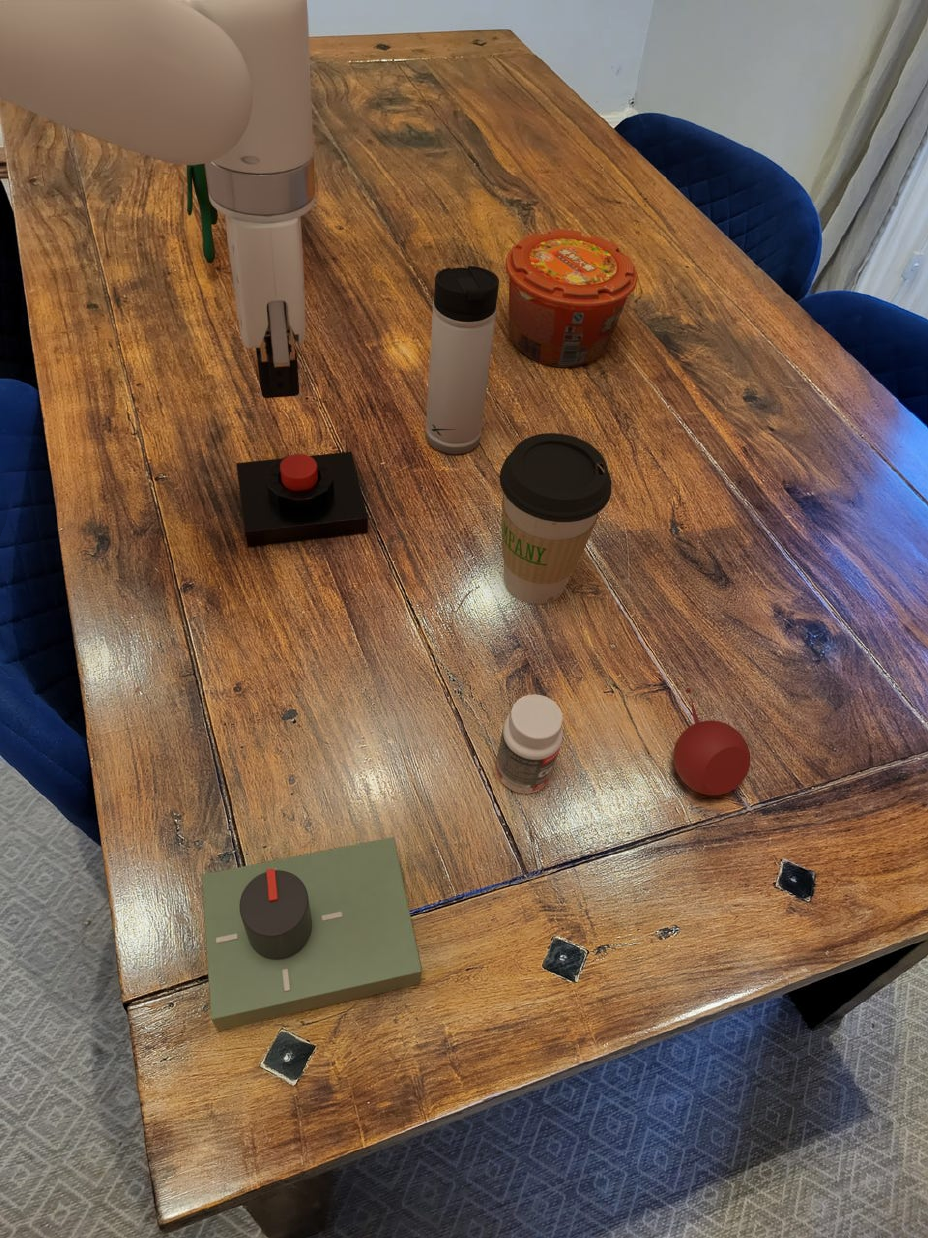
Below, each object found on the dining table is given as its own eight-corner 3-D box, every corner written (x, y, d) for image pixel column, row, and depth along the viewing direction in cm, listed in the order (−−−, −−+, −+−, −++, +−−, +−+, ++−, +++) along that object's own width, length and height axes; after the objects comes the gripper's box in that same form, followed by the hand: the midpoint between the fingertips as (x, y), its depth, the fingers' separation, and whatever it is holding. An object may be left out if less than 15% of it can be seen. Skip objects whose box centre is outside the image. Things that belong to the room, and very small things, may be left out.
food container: (640, 334, 115) (661, 256, 106) (582, 393, 106) (600, 313, 97) (536, 289, 119) (549, 212, 111) (472, 342, 110) (480, 263, 102)
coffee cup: (486, 539, 89) (502, 423, 78) (581, 547, 90) (612, 432, 78) (483, 614, 83) (501, 500, 71) (585, 623, 84) (620, 510, 72)
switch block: (247, 547, 86) (242, 518, 83) (238, 478, 92) (233, 449, 89) (368, 533, 89) (367, 504, 85) (352, 466, 94) (351, 437, 91)
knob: (315, 953, 60) (311, 927, 56) (250, 966, 59) (241, 941, 55) (308, 891, 62) (303, 862, 58) (245, 903, 61) (236, 874, 57)
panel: (217, 1031, 59) (210, 1019, 56) (207, 890, 65) (201, 873, 62) (420, 984, 62) (422, 970, 59) (393, 853, 68) (394, 835, 65)
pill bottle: (542, 802, 71) (559, 751, 65) (487, 784, 72) (498, 731, 66) (557, 755, 74) (575, 701, 68) (504, 737, 75) (517, 682, 68)
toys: (206, 228, 122) (175, 32, 103) (296, 230, 124) (281, 37, 105) (197, 298, 112) (161, 94, 93) (295, 299, 113) (280, 98, 94)
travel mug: (434, 460, 96) (445, 295, 80) (419, 422, 100) (427, 257, 84) (488, 453, 98) (510, 290, 82) (471, 416, 101) (489, 253, 86)
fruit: (717, 758, 78) (719, 678, 75) (757, 791, 73) (761, 707, 70) (657, 776, 76) (656, 695, 73) (693, 811, 71) (694, 726, 68)
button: (283, 493, 86) (282, 480, 85) (279, 468, 88) (278, 455, 87) (320, 489, 87) (319, 476, 85) (315, 465, 89) (314, 451, 88)
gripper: (199, 131, 65) (228, 344, 80) (214, 232, 57) (244, 451, 71) (300, 129, 67) (311, 338, 81) (330, 228, 58) (336, 443, 73)
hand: (279, 391), depth 76 cm, fingers closed
